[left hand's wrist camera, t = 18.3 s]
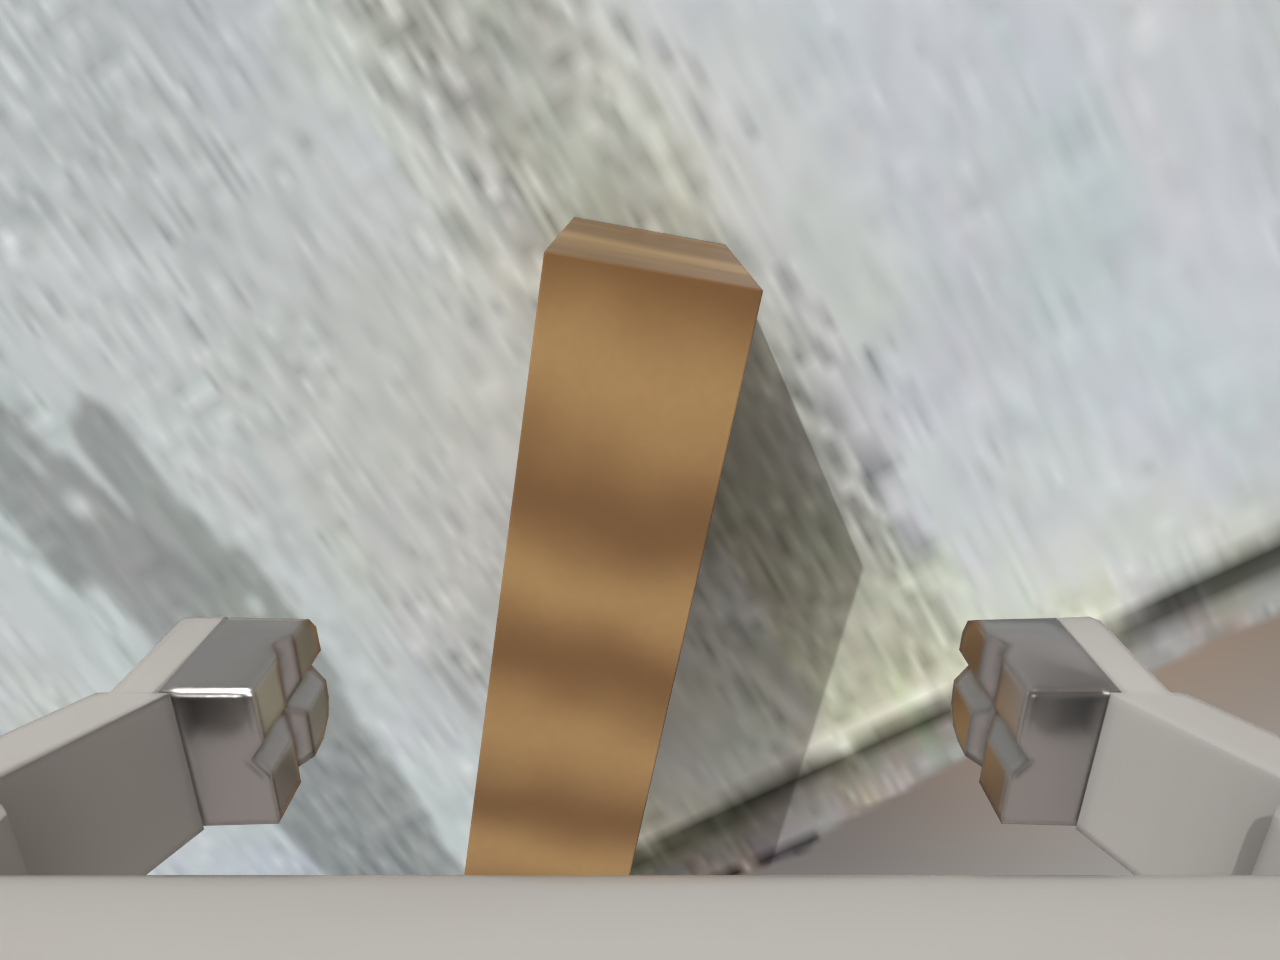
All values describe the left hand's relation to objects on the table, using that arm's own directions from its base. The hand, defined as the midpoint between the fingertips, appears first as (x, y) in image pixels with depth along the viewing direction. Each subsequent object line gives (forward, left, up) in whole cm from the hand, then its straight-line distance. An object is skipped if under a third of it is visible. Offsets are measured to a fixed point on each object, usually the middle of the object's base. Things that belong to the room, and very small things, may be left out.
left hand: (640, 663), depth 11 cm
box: (+3, +9, -25) cm, 27 cm away
